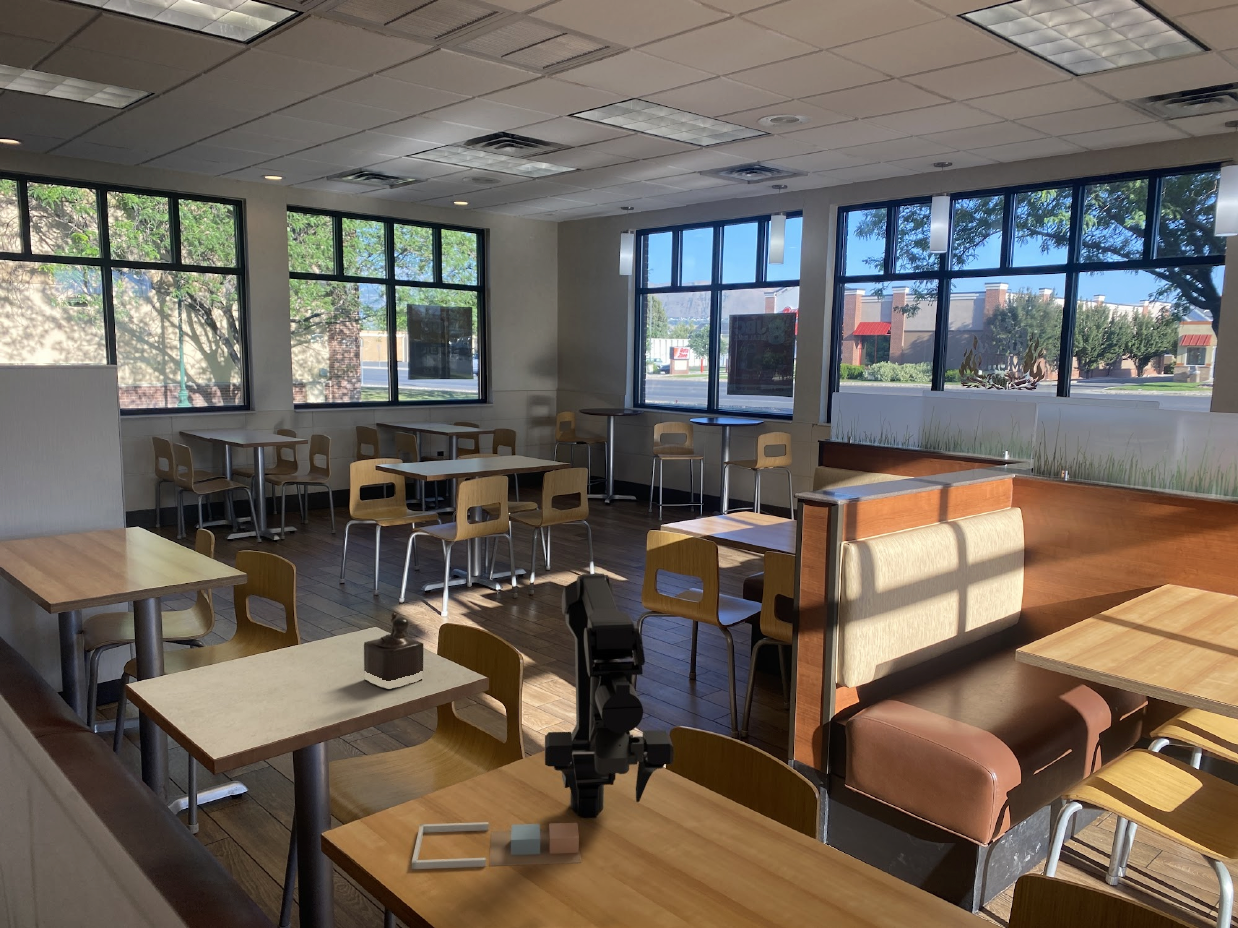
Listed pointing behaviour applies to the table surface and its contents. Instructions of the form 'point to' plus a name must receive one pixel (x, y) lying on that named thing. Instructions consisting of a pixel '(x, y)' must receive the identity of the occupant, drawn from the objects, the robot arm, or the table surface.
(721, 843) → the table surface
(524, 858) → the board
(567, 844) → the terracotta tile
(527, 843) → the slate tile
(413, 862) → the tray
